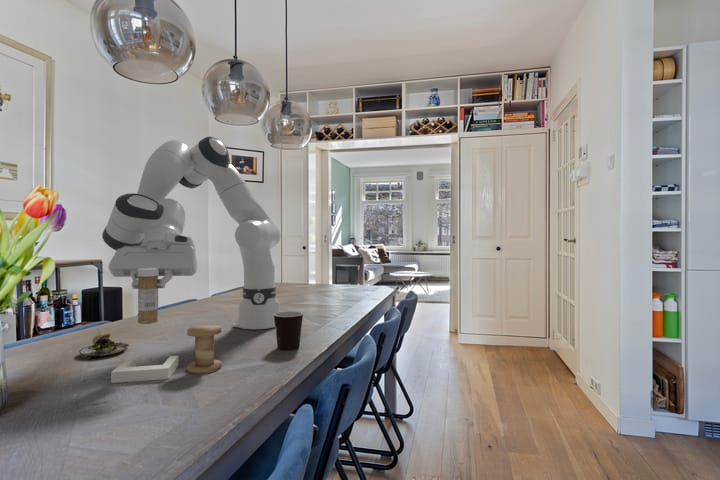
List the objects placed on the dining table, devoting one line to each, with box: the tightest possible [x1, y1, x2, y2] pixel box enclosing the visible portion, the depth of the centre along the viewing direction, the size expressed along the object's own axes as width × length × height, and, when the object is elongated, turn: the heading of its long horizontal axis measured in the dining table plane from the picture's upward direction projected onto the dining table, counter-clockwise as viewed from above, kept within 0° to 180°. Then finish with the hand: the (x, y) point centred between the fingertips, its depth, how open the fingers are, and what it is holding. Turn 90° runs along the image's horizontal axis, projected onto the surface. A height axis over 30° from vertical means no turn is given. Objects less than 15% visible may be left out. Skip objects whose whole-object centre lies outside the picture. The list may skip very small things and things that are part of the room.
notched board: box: [110, 355, 179, 384], centre depth 95 cm, size 10×12×2 cm
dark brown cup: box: [274, 310, 304, 351], centre depth 120 cm, size 12×9×10 cm
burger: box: [78, 329, 130, 361], centre depth 112 cm, size 12×12×8 cm
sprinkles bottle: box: [137, 267, 159, 325], centre depth 97 cm, size 5×5×13 cm
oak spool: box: [186, 324, 223, 375], centre depth 99 cm, size 8×8×10 cm
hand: (148, 287), depth 97 cm, fingers closed on sprinkles bottle, 4 cm apart
